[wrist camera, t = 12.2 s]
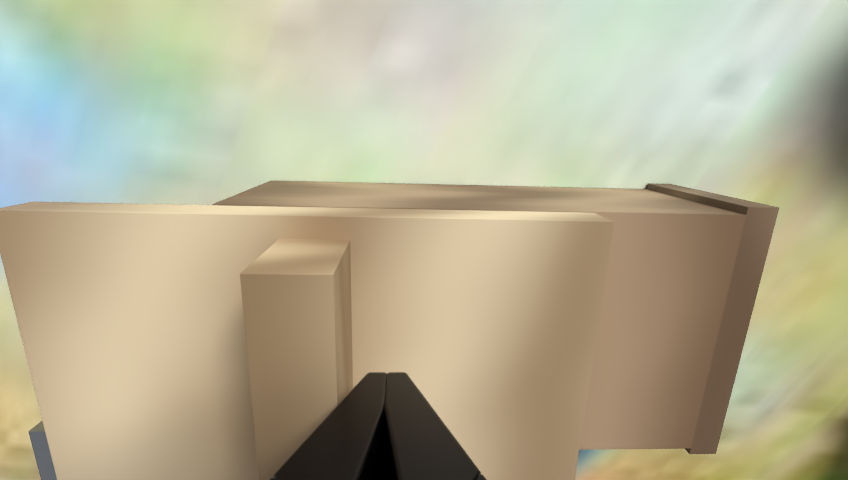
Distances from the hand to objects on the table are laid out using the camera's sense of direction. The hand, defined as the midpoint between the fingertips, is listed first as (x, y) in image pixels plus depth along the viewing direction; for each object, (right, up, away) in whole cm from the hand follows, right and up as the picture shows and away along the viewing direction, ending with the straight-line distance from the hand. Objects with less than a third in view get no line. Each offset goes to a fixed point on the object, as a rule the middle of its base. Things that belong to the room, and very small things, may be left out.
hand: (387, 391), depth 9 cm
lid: (-2, +1, +2) cm, 3 cm away
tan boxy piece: (+2, +2, +7) cm, 7 cm away
